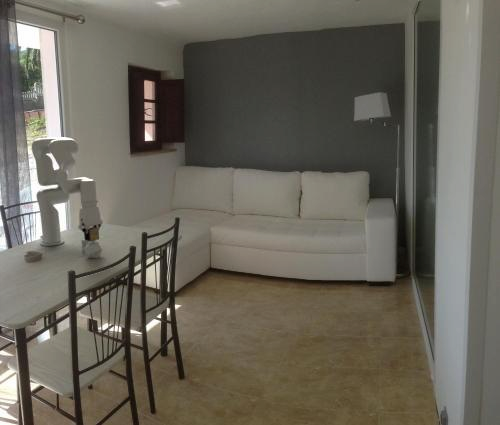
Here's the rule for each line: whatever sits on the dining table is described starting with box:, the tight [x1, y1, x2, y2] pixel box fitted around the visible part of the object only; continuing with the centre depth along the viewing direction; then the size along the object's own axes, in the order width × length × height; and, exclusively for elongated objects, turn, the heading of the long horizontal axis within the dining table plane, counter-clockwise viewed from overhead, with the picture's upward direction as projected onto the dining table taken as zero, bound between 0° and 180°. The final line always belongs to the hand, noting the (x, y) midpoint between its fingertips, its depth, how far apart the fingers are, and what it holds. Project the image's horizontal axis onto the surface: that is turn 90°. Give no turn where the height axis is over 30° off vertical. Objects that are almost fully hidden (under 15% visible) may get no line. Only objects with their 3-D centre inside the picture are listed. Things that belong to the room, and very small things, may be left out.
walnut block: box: [88, 226, 100, 242], centre depth 244 cm, size 5×5×6 cm
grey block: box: [81, 238, 96, 252], centre depth 259 cm, size 5×5×6 cm
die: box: [83, 241, 103, 259], centre depth 246 cm, size 8×9×10 cm
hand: (91, 238), depth 245 cm, fingers closed on walnut block, 5 cm apart
